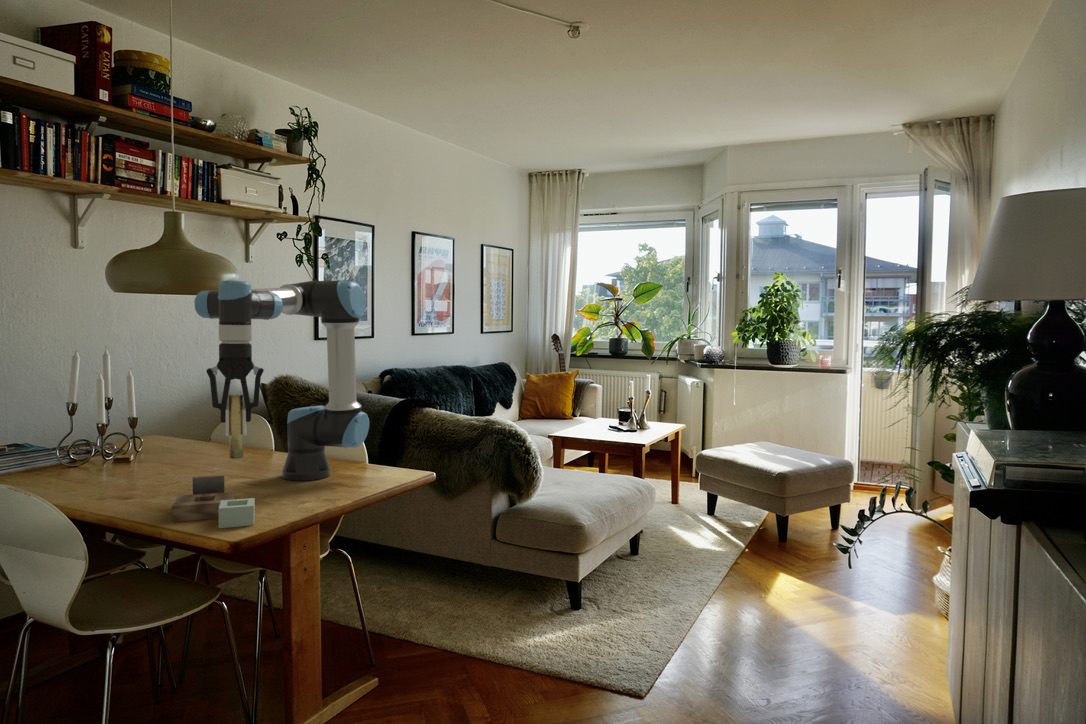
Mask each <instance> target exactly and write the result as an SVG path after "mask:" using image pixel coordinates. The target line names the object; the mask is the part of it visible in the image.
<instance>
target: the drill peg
mask: <svg viewBox="0 0 1086 724" xmlns="http://www.w3.org/2000/svg"><path fill="white" fill-rule="evenodd" d="M243 405H244V397H243V393H242V394H241V393H235V394H234V393H233V394H229V395H228V409H229V436H228V440H229V441H228V443H229V444H228V445H229V448H228V450H229V451H228V453H229V458H228V459H233V460H234V459H236V460H237V459H238V460H239V459H243V458H244V436H243V417H242V410H243V409H244V406H243Z"/></svg>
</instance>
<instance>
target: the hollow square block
mask: <svg viewBox="0 0 1086 724" xmlns="http://www.w3.org/2000/svg"><path fill="white" fill-rule="evenodd" d="M255 500H256V499H255V497H249V498H237V499H236V498H235V499H233V500H221V502H220V505H219V518H218V529H223V528H224V529H225V528H227V529H228V528H240V527H250V526H254V525H255V520H256V519H255V517H256V515H255V514H256V508H255V507H256V506H255V504H256V502H255Z"/></svg>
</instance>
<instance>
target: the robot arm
mask: <svg viewBox="0 0 1086 724" xmlns="http://www.w3.org/2000/svg"><path fill="white" fill-rule="evenodd" d="M366 308H367V299H366V295H365V292H364V291H363V289H362V287H361V286H360V285H359V284H358V283H357V282H355V281H353V280H351V281H350V280H343V279H342V280H310V281H307V280H306V281H303V282H297V283H290V284H287V283H286V284H282V285H281V286H279V287H268V288H252V284H251V283H250V282H249V281H247V280H246V281H245V280H221V281H220V282H219V283H218V290H213V289H209V290H202V291H201V290H200V292H198V293H197V294H196V296H195V298H194V310H195V312H196V314H197V315H198V316H199V317H201V318H204V319H210V320H213V319H218V340H219V342H221V343H219V344H218V362H217V364H216V365H215V366H212V367H208V368H207V369H206V374H207V376H208V377H209V385H210V394H211V404H212V407H213V409H214V408H215V409H218V410H220V423H222V424H223V423H225V437H229V408H227V405H228V402H229V395H230V388H231V383H232V381H233V380H239V382H240V385H241V390H242V394H243V403H244V407H245V408H243V410H242V417H243V437H244V436H247V423H248V422H249V423H250V422H251V420H252V409H253V408H256V407H258V406H259V405H260V404H259V403H260V402H259V401H260V389H261V377H262V376H263V373H264V371H265V370H264V368H263V367H259V366H256V365H255V364H254V362H253V356H252V355H253V352H252V348H253V347H252V345H253V344H251V343H250V342H252V320H264V321H265V320H267V321H269V320H274V319H276V318H278V317H279V316H280V315H281V313H282V314H285V315H289V316H291V315H292V316H293V315H296V316H297V315H298V316H306V317H316V318H317V317H318V318H321V319H320V322H321V325H322V326H324V327H325V328H326V348H327V351H326V352H327V377H328V378H327V379H328V381H327V383H328V403H327V404H326V405H325V406H324V405H311V406H305V407H297V408H293V409H291V410H290V411H288V413H287V422H286V424H287V455H286V458H285V462H284V465H283V467H282V472H281V473H282V474H281V475H282V479H284V480H286V481H296V482H299V481H301V482H302V481H315V480H321V479H325V478H328V477H330V476H331V467H330V463H329V461H328V457H327V454H326V450H325V449H326V447H333V448H336V447H337V448H343V449H347V448H348V449H349V448H352V449H353V448H354V449H355V448H358V447H360V446H361V445H362V444H363V443H364V442H365V441H366V438H367V436H368V434H369V430H370V419H369V417H368V416H369V415H368V414H367V413H366V412H364V411H363V410H362V404H361V403H359V401H358V400H357V376H356V375H357V374H356V373H357V370H356V369H357V368H356V341H355V340H356V339H355V328H356V327H357V325H358V324H359V323H360V318H361V317H363V316H364V315H365V311H366ZM218 370H219V372H220V373H221V375H223V376H224V378H225V379H224V385H223V391H222V397H221V402H219V393H218V384H217V377H216V376H217V375H218ZM252 370H253V375H255V379H254V391H253V401H251V399H250V394H249V388H248V383H247V382H248V381H247V376H248V375H249V374H250V373H251V371H252Z"/></svg>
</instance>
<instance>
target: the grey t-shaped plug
mask: <svg viewBox="0 0 1086 724" xmlns="http://www.w3.org/2000/svg"><path fill="white" fill-rule="evenodd" d="M225 490H226V489H225V474H219V475H217V474H216V475H203V476H201V475H200V476H192V495H197V494H212V493H226V491H225Z"/></svg>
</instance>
